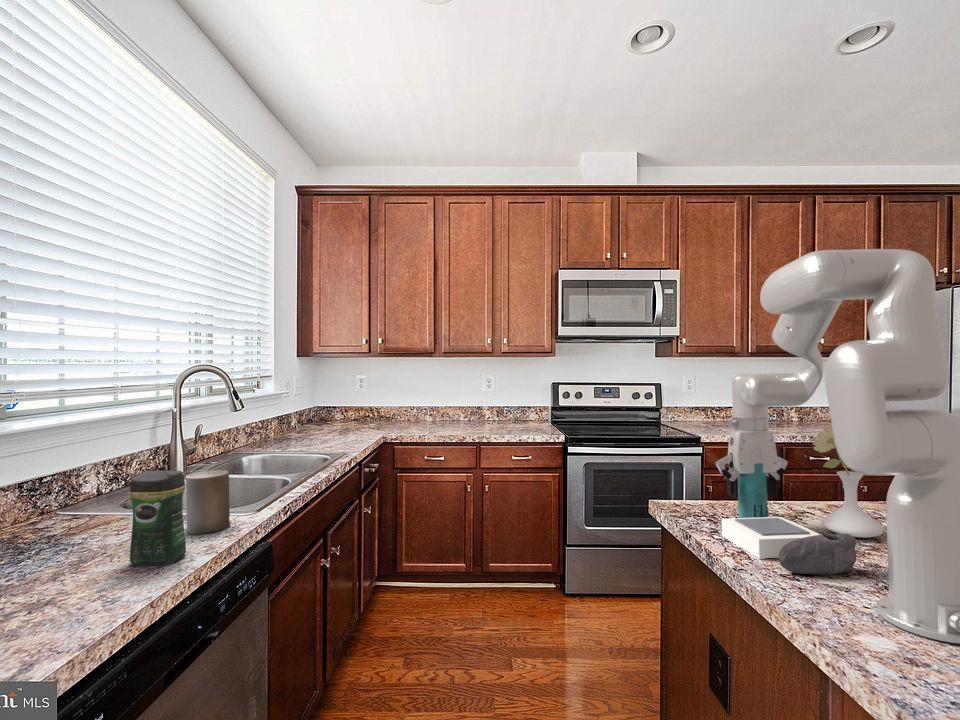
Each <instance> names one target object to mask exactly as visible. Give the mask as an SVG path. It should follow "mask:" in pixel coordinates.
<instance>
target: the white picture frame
mask: <svg viewBox="0 0 960 720" xmlns="http://www.w3.org/2000/svg"><path fill="white" fill-rule="evenodd" d="M815 535H822V534H820V533H818V532H816V531H813V530H812V529H809V528H807V527H804V526H802V525H800V524H798V523H796V522H793V521H791V520H790V519H787V518H785V517H782V516H769V517H760V518H739V517H737V518H735V517H733V518H729V517H728V518H721V537H723V538H725V539H726V540H727V539H728V541H729V542H730V543H732V542H733V543H732V544H734V545H735V544H736V546H737V547H739V548H740V547H741V548H740V549H742V548H743V549H745V550H746V552H747V551H748V552H750V553H751V554H750V553H749V554H750V555H752V554H753V555H754V556H753V555H752V556H753V557H755V556H756V557H758V558H759V559H758V558H757V559H758V560H766V559H765V558H779V552H780V550H781V549H782V547H783V546H784V545H786V544H787V543H789V542H791V541H794V540H797V539H800V538H804V537H809V536H815ZM743 549H742V550H743ZM745 550H744V551H745ZM748 552H747V553H748ZM756 557H755V558H756Z"/></svg>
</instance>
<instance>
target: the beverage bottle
mask: <svg viewBox="0 0 960 720" xmlns="http://www.w3.org/2000/svg"><path fill="white" fill-rule="evenodd" d="M754 467H755V470H754V473H752V474H742V473H740V474H739V475H738V477H737V483H738V498H737V510H738V511H737V514H738V518H760V517H770V515H769V507H768V504H769V503H768V494H767V490H768V489H767V478H768V476H767V474H765V473H763V464H762V463H755V464H754Z"/></svg>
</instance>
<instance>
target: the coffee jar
mask: <svg viewBox="0 0 960 720" xmlns="http://www.w3.org/2000/svg"><path fill="white" fill-rule="evenodd" d="M129 487H130V488H129V497H130V500H131V503H132V526H131V529H132V530H131V537H130V538H131V540H130V550H129V562H130V564H131V565H134V566H155V565H156V566H157V565H164V564H168V563H170V562H175V561H177V560H179V559H181V558H182V557H183V556H184V555H185V554H186V552H187V543H186V534H185V526H184V525H185V524H184V517H183V498H184V493H185V491H186V479H185V475H184V472H183V471H182V470H149V471H143V472H141V473H140V472H139V473H136V474H134V475H133V476H132V478H131V481H130V484H129Z"/></svg>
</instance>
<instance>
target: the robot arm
mask: <svg viewBox="0 0 960 720" xmlns="http://www.w3.org/2000/svg"><path fill="white" fill-rule="evenodd" d="M759 296H760V297H759V301H760V304H761V307H762V309H763V310H764V311H765V312H767V313H769V314H771V315H780V316H779V318H778V320H777V322H776V324H775V326H774V328H773V330H772V335H771V338H772V340H773V342H774V343H775V344H776V345H777V347H779V348H781V350H783V351H785V352H787V353H789V354H792V355H794V356H796V357H799V361H798V364H797V366H796V367H795V368H794V370H793V372H776V373H775V372H771V373H770V372H769V373H751V374H749V373H747V374H745V373H744V374H736V375H734V376H733V377H732V380H731V381H732V382H731V390H732V391H731V392H732V393H731V394H732V397H731V398H732V418H731V419H732V420H728V423H727V424H728V426H729V427H731V428H732V429H731V430H730V432H729V433H730V434H729V439H728V448H727V455H725V456H724V457H722V458H720V459H718V460H717V461H715V463H714V464H715V465H716V467H717V469H718V471H719V474H720V475H721V476H723V477H724V479H725V480H726V492H727V495H728V496H729V497H731V498H734V499H738V480H736V479H738V475H739V474H740V473H742V474H752V473H754V470H755V467H754V464H755V463H762V464H763V473H765V474H766V476H767V489H768V490H767V496H771V497H773V498H777V497H778V492H779V485H778V484H779V483H778V481H779V480H781V476H783V475H784V473H785V470H786V468H787V466H788V464H789V462H788V460H786V459H784V458H782V457H780V456H778V453H777V447H776V442H775V437H774V434H773V431H772V430H769V407H770V408H771V407H797V406H801V405H803V404H805V403H807V402H808V401H809V400H810V399H811V398H812V397H813V396H814V393H816V390H817V388H818V387H819V386H820V383H821V382H822V379H823V377H824V383H825V391H826V397H827V404H828V410H829V415H830V421H831V428H832V429H833V435H834V440H835V445H836V448H837V451H838V454H839V456H840V458H841V460H842V462H843V463H845V464H846V465H847V466H848V467H849V468H848V469H850V470H851V471H852V472H857V473H861V474H863V475H867V476H894V477H893V479H892V481H891V483H890V485H889V488H888V491H887V494H886V502H885V504H886V505H885V508H886V509H885V511H886V539H887V540H886V541H887V542H886V543H887V570H888V571H887V572H888V596H885V597H882V598H879V599H878V600H877V601H876V612H877V613H878V615H879V616H881V617H882V618H883V619H884V620H885V621H887V622H889V623H890V624H891V625H894V626H895V627H897V628H900V629H902V630H904V631H907V632H909V633H912V634H915V635H918V636H921V637H923V638H928V639H932V640H936V641H940V642H946V643H949V644H950V643H952V644H959V645H960V416H958V415H957V414H954V413H951V412H947V411H943V410H939V409H938V410H936V409H896V410H887V404H886V402H913V401H914V402H915V401H916V402H918V401H926V400H931V399H934V398H937V397H939V396H941V395H943V394H944V393H945V392H946V390H947V389H948V387H949V384H950V368H949V363H948V358H947V354H946V349H945V343H944V339H943V333H942V329H941V324H940V320H939V316H938V311H937V304H936V303H937V302H936V276H935V272H934V267H933V266H932V264H931V262H930V261H929V260H928V259H927V258H926V257H925V256H924V255H922V254H921V253H919V252H917V251H913V250H909V249H901V248H898V249H896V248H862V249H861V248H860V249H859V248H858V249H825V250H816V251H815V250H814V251H811V252H808V253H806V254H804V255H801V256H800V257H798V258H796V259H795V260H792V261H791V262H789V263H787V264H785V265H783V266H781V267H780V268H777V269H776V270H775V271H773V272H772V273H771V274H770V275H769V276H768V277H767V279H765V281H764V283H763V285H762V286H761V289H760V295H759ZM845 300H847V301H848V300H850V301H851V300H873V302H872V303H871V305H870V307H869V309H868V313H867V318H866V322H867V323H866V325H867V329H868V333H869V339H860V340H853V341H852V340H851V341H847V342H843V343H841V344H840V345H838V346H837V347H836V348H834V349H833V351H832V352H831V353H830V355H829V357H828V359H827V361H826V364H825V369H824V360H823V357H822V354H821V352H820V350H819V348H818V346H819V344H820V342H821V340H822V339H823V336H824V334H825V333H826V331H827V330H828V327H829V325H830V324H831V322H832V321H833V319H834V317H835V315H836V314H837V311H838V310H839V307H840V306H841V304H842V302H843V301H845ZM824 370H825V371H824ZM837 451H836V452H837ZM838 454H837V455H838ZM839 456H838V457H839ZM726 465H727V466H728V468H729V469H728V470H727V469H726V467H725V466H726Z"/></svg>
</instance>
